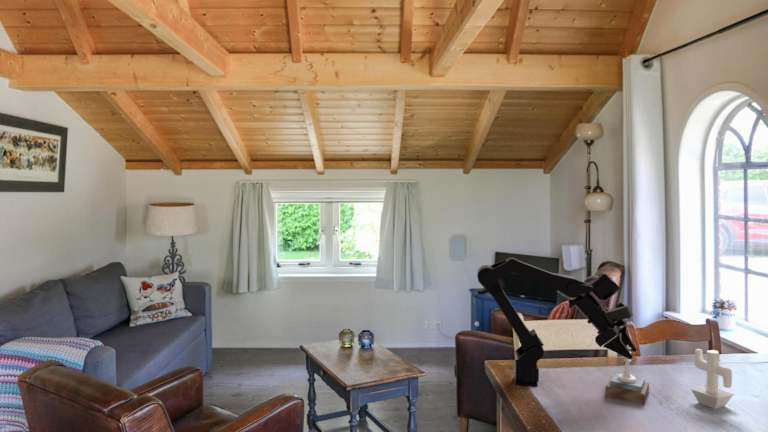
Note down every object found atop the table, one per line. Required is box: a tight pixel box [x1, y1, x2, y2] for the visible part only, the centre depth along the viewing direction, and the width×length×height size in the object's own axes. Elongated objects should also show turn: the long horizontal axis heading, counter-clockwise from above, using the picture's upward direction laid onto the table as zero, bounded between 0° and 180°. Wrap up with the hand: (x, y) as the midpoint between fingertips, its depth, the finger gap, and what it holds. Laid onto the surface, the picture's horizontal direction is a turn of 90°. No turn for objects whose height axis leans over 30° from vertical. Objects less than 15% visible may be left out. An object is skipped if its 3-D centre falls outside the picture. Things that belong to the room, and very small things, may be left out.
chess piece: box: [618, 345, 637, 383], centre depth 141 cm, size 5×5×10 cm
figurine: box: [690, 348, 735, 410], centre depth 135 cm, size 7×9×15 cm
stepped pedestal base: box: [604, 372, 650, 406], centre depth 141 cm, size 10×10×4 cm
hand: (633, 354), depth 140 cm, fingers open, 8 cm apart
